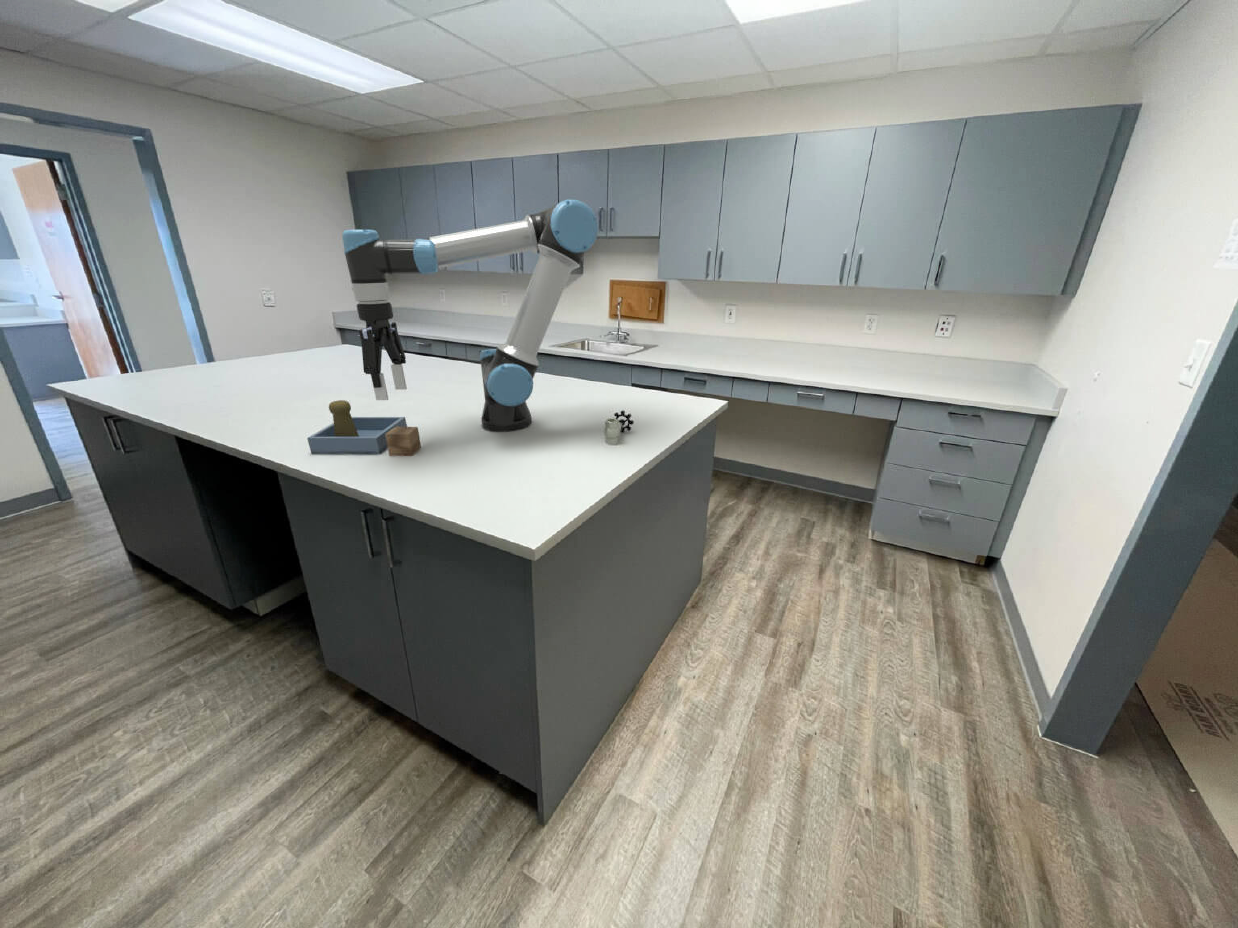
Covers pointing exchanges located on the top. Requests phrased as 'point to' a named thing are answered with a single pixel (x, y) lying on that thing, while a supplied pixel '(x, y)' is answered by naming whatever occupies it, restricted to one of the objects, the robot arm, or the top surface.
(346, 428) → the cork
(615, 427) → the valve
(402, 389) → the robot arm
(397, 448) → the walnut block
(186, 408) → the top surface
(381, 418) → the tray
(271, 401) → the top surface
